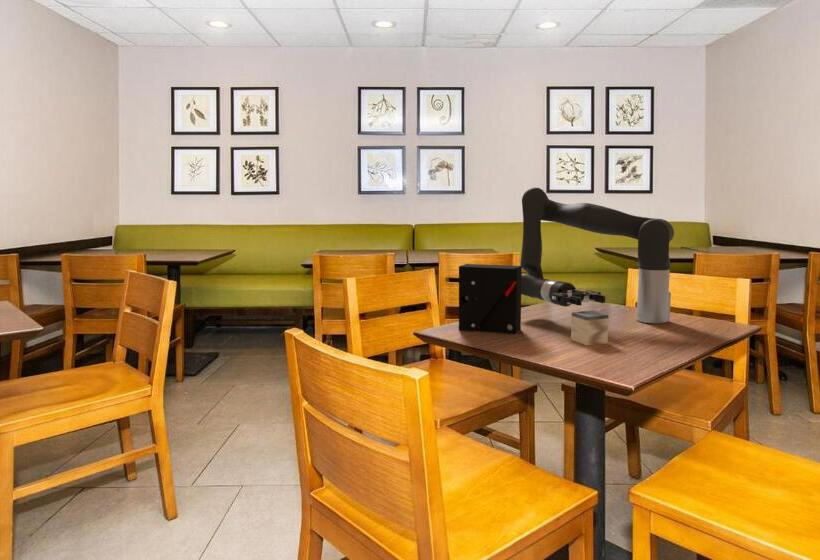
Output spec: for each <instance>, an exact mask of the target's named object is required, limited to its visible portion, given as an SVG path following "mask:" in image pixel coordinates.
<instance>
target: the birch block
mask: <svg viewBox="0 0 820 560" xmlns="http://www.w3.org/2000/svg"><path fill="white" fill-rule="evenodd" d="M570 334H571V335H570V337H571V338H570V340H571V341H574V342H575V343H580V344H582V345H585V346H592V345H593V346H594V345H603V344H608V341H609V340H608V338H609V314H607V313H603V312H599V311H595V310H583V311H582V310H581V311H573V312H571V330H570Z"/></svg>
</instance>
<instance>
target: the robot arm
mask: <svg viewBox="0 0 820 560" xmlns="http://www.w3.org/2000/svg"><path fill="white" fill-rule="evenodd" d="M521 206H522V224H523V225H522V243H521V244H522V245H521V251H520V252H521V254H520V266H522V271H525V272H526V273H522V277H521V296H522V295H523V296H526V297H529V298H533V299H538V300H541V301H544V302H547V303H549V304H552V305H557V306H561V307H569V306H572V305H574V306H575V305H576V306H582V303H590V302H597V303H599V304H605V303H606V296H605V294H604V295H603V294H602V292H600V291H595V290H591V289H585V290H583V289H578V288H577V289H576V287H575V284H572V283H570V282H566V281H561V280H556V279H547V278H544V274H543V267H542V255H543V240H542V230H541V229H542V227H541V226H542V224H541V223H542V221H546V222H551V223H559V224H561V225H566V226H569V227H573V228H576V229H580V230H584V231H588V232H592V233H596V234H600V235H607V236H608V235H609V236H621V237H627V238H631V239H634V240H637V261H638V283H637V301H636V302H637V305H636V321H638V322H640V323H645V324H666V323H668V322H670V317H671V316H670V315H671V297H672V293H671V292H670V272H671V260H670V242H672V240H673V238H674V235H675V231H674V227H673V225H672V224H671V223H670V222H668V221H667V220H665V219H663V218H654V217H653V218H652V217H647V216H646V217H644V216H638V215H633V214H629V213H626V212H623V211H620V210H617V209H614V208H611V207H607V206H603V205H598V204H595V203H589V202H579V203H572V204H571V203H570V204H569V203H568V204H566V203H562V202H557V201H555V200H552V199H549V197H548V195H547V193H546V192H545V191H544V190H543V189H542V188H540V187H535V186H534V187H531V188H528V189H527V190H526V191H524V193H523V195H522V197H521Z"/></svg>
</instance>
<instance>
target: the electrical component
mask: <svg viewBox="0 0 820 560" xmlns="http://www.w3.org/2000/svg"><path fill="white" fill-rule="evenodd" d="M522 271H523V269H522V266H521V265H508V264H507V265H506V264H503V265H502V264H481V263H479V264H476V263H466V264H462V265H459V266H458V331H461V332H483V333H493V334H495V333H496V334H506V335H507V334H508V335H517V334H518V333H519V332H520V331H521V330H522V329H521V328H522V326H521V325H522V294H521V277H522V274H523V273H522Z"/></svg>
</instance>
